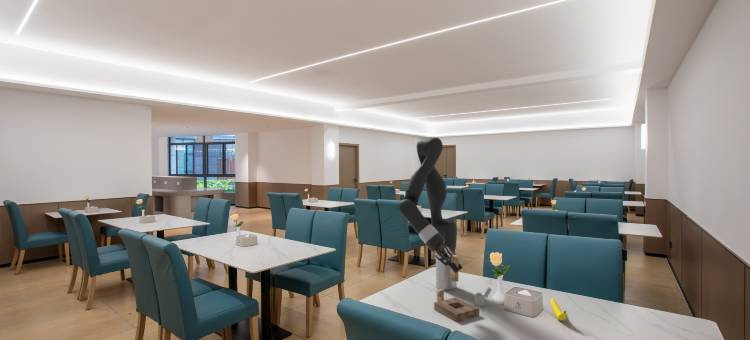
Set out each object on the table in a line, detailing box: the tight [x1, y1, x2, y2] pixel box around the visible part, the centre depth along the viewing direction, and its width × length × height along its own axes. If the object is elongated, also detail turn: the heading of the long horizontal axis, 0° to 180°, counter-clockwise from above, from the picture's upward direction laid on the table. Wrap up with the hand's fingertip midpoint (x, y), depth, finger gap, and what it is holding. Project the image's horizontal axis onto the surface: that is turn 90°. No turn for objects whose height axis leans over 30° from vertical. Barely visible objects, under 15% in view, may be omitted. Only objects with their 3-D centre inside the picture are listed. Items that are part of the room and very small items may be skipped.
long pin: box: [451, 254, 459, 282], centre depth 154 cm, size 3×3×10 cm
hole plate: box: [433, 297, 480, 323], centre depth 155 cm, size 12×14×3 cm
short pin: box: [436, 288, 445, 302], centre depth 168 cm, size 3×3×4 cm
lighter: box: [473, 287, 492, 307], centre depth 162 cm, size 7×2×8 cm, turn 72°
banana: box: [550, 296, 568, 321], centre depth 149 cm, size 3×19×6 cm, turn 168°
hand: (459, 270), depth 153 cm, fingers closed on long pin, 3 cm apart
